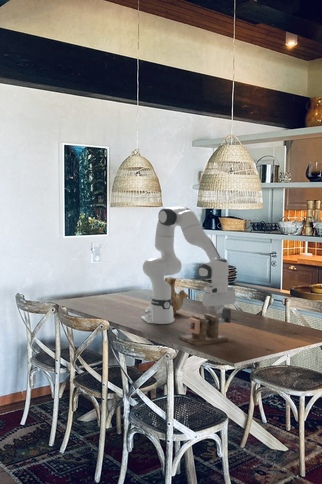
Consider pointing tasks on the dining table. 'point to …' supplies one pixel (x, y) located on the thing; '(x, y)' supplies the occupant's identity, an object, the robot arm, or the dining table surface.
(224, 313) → the shaft
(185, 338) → the stand
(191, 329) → the spacer
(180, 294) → the tan plush toy
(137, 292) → the dining table surface
